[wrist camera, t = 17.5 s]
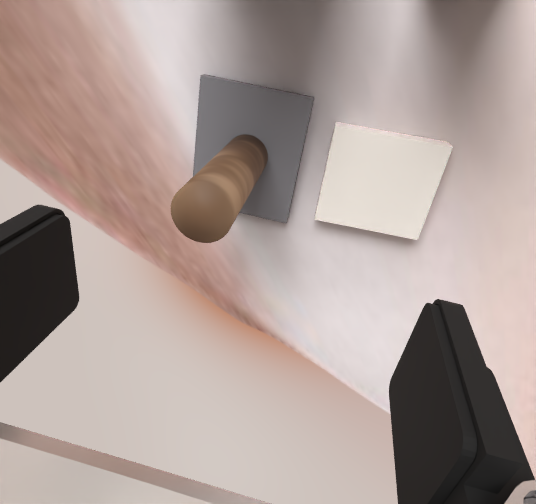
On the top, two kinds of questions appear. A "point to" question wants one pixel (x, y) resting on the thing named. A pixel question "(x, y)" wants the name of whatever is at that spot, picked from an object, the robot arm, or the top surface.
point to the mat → (262, 127)
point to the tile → (380, 180)
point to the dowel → (219, 190)
